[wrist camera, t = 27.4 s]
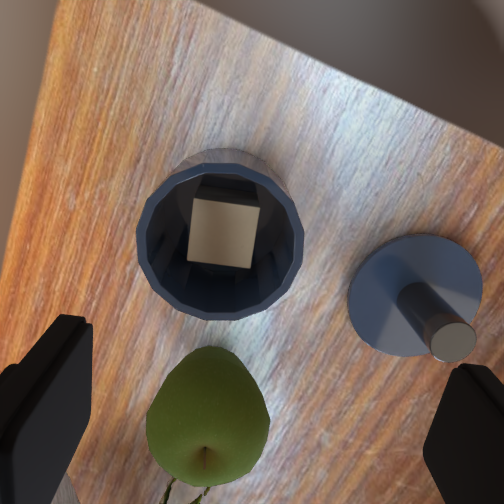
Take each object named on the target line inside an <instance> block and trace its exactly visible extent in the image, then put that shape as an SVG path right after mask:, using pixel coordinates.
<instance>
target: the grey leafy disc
mask: <svg viewBox="0 0 504 504" xmlns="http://www.w3.org/2000/svg"><path fill="white" fill-rule="evenodd" d="M175 480H176V478H174V477H172V478H171V480H170V481H168V482H167V489H166V491H165V493H164V495H163V497H162V498H161V500H160V502H159V504H167V500H168V498H169V493H170V491H171V485H172V483H173V482H174V481H175ZM209 490H210V487H207V488H206V490H205V491H204V496H206V495H207V492H208V491H209ZM201 498H202V494H200V496H199V497H198V498H197V499H195V500H194V501H192V502H191V503H190V504H200V503H199V502H200V501H201ZM51 504H80V502H79V500H78V498H77V495H76V492H75V489H74V487H73V485H72V482H71V479H70V477H69V476H68V474H67V472H65V474H64V477H63V479H62V481H61V483H60V485H59V487H58V489H57V492H56V494H55V496H54V498H53V500H52V502H51Z"/></svg>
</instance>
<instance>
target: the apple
mask: <svg viewBox="0 0 504 504" xmlns="http://www.w3.org/2000/svg"><path fill="white" fill-rule="evenodd" d="M269 425H270V417H269V414H268V411H267V408H266V405H265V401H264V398H263V395H262V393H261V391H260V389H259V387H258V385H257V384H256V382H255V380H254V378H253V377H252V376H251V374H250V373H249V371H248V370H247V369H246V367H245V366H244V364H243V363H242V362H241V361H240V360H239V359H238V357H237V356H236V355H235V354H234V353H232V352H230V351H228V350H226V349H224V348H221V347H214V346H206V347H202V348H198V349H195V350H194V351H192V352H191V353H190V354H188V355H187V356H185V357H184V359H183V360H182V361H181V362H180V363H179V364H178V365H177V366H176V367H175V368H174V369H173V370H172V371H171V372H170V373H169V374H168V376H167V377H166V379H165V381H164V383H163V384H162V386H161V388H160V390H159V391H158V393H157V395H156V397H155V399H154V400H153V402H152V404H151V406H150V408H149V410H148V412H147V417H146V436H147V441H148V446H149V451H150V452H151V454H152V455H153V457H154V459H155V460H156V462H157V463H158V465H159V466H160V467H162V468H163V469H164V470H165V471H166V472H168V473H169V474H170V475H171V476H172V477H174V478H176V479H178V480H180V481H182V482H185V483H187V484H189V485H191V486H194V487H211V486H216V485H220V484H225V483H229V482H232V481H234V480H236V479H238V478H240V477H242V476H243V475H245V474H247V473H249V472H250V471H251V470H252V468H253V467H254V465H255V464H256V462H257V461H258V459H259V458H260V456H261V454H262V451H263V449H264V446H265V444H266V441H267V437H268V431H269Z"/></svg>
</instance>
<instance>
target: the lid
mask: <svg viewBox="0 0 504 504" xmlns="http://www.w3.org/2000/svg"><path fill="white" fill-rule="evenodd" d="M481 298H482V277H481V273H480V270H479V267H478V265H477V263H476V261H475V260H474V258H473V257H472V256H471V254H470V253H469V252H468V251H467V250H466V249H464V248H463V247H462V246H460V245H459V244H457V243H456V242H454V241H452V240H450V239H448V238H445V237H443V236H439V235H434V234H424V233H423V234H411V235H406V236H402V237H399V238H396V239H393V240H391V241H389V242H387V243H385V244H383V245H382V246H380V247H379V248H377V249H376V250H374V251H373V252H372V253H371V254H370V255H369V256H368V257H367V258H366V259H365V260H364V261H363V262H362V263H361V265H360V266H359V267H358V269H357V270H356V272H355V274H354V276H353V278H352V280H351V283H350V286H349V290H348V295H347V308H348V314H349V318H350V320H351V323H352V325H353V327H354V329H355V331H356V332H357V334H358V335H359V336H360V337H361V339H362V340H363V341H364V342H366V343H367V344H368V345H369V346H371V347H372V348H374V349H376V350H378V351H380V352H382V353H385V354H389V355H393V356H402V357H409V356H418V355H424V354H427V353H431V354H432V355H433V356H434V357H435V358H436V359H437V360H439V361H442V362H448V363H450V362H456V361H459V360H462V359H464V358H465V357H467V356H468V355H469V354H470V353H471V352H472V351H473V349H474V347H475V345H476V340H477V337H476V333H475V330H474V329H473V328H472V327H471V326H470V325H469V324H470V323H471V322H472V320H473V318H474V317H475V315H476V313H477V311H478V308H479V305H480V302H481Z"/></svg>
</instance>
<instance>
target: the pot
mask: <svg viewBox="0 0 504 504" xmlns="http://www.w3.org/2000/svg"><path fill="white" fill-rule="evenodd" d="M199 185H204V186H211V187H217V188H224V189H231V190H238V191H245V192H252V193H257V194H258V199H259V205H260V213H259V219H258V225H257V231H256V237H255V243H254V249H253V255H252V261H251V267H250V269H249V268H242V267H234V266H226V265H219V264H211V263H203V262H196V261H188V260H187V253H188V244H189V235H190V226H191V217H192V208H193V199H194V196H195V194H196V192H197V189H198V187H199ZM136 243H137V256H138V263H139V265H140V266H141V268H142V270H143V272H144V274H145V276H146V278H147V280H148V282H149V284H150V286H151V288H152V289H153V290H154V291H155V292H156V293H157V294H159V295H160V296H161V297H162V298H163V299H164V300H166V301H167V302H168V303H169V304H170V305H171V306H173V307H174V308H175V309H176V310H178V311H181V312H184V313H186V314H189V315H192V316H195V317H197V318H200V319H203V320H232V321H235V320H239V319H242V318H245V317H248V316H250V315H253V314H256V313H259V312H261V311H264V310H266V309H267V308H268V307H270V306H271V305H272V304H273V303H274V302H275V301H277V300H278V299H279V298H280V297H281V296H282V295H284V294H285V293H286V292H287V291H288V290H289V288H290V286H291V284H292V282H293V280H294V278H295V276H296V275H297V273H298V271H299V269H300V267H301V265H302V261H303V246H304V229H303V227H302V224H301V221H300V218H299V216H298V213H297V210H296V207H295V205H294V202H293V200H292V198H291V196H290V194H289V193H288V191H287V189H286V187H285V185H284V183H283V181H282V180H281V178H280V177H279V176H278V175H277V174H276V173H275V172H274V171H273V169H271V168H270V167H269V166H268V165H267V164H266V163H265V161H263V160H261V159H259V158H257V157H255V156H254V155H252V154H249V153H247V152H244V151H241V150H238V149H228V148H217V149H208V150H206V151H203V152H200V153H197V154H195V155H193V156H191V157H188V158H186V159H184V160H183V161H182V162H181V163H180V164H179V165H178V166H177V167H176V168H175V169H174V170H173V171H172V172H171V173H170V174H169V175H168V176H167V177H166V179H165V180H164V181H163V182H162V183H161V184H160V185H159V186H158V188H157V189H156V190H155V191H154V192H153V193H152V194H151V195H150V197H149V198H148V199H147V200H146V203H145V206H144V208H143V211H142V214H141V217H140V219H139V222H138V225H137V228H136Z"/></svg>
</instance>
